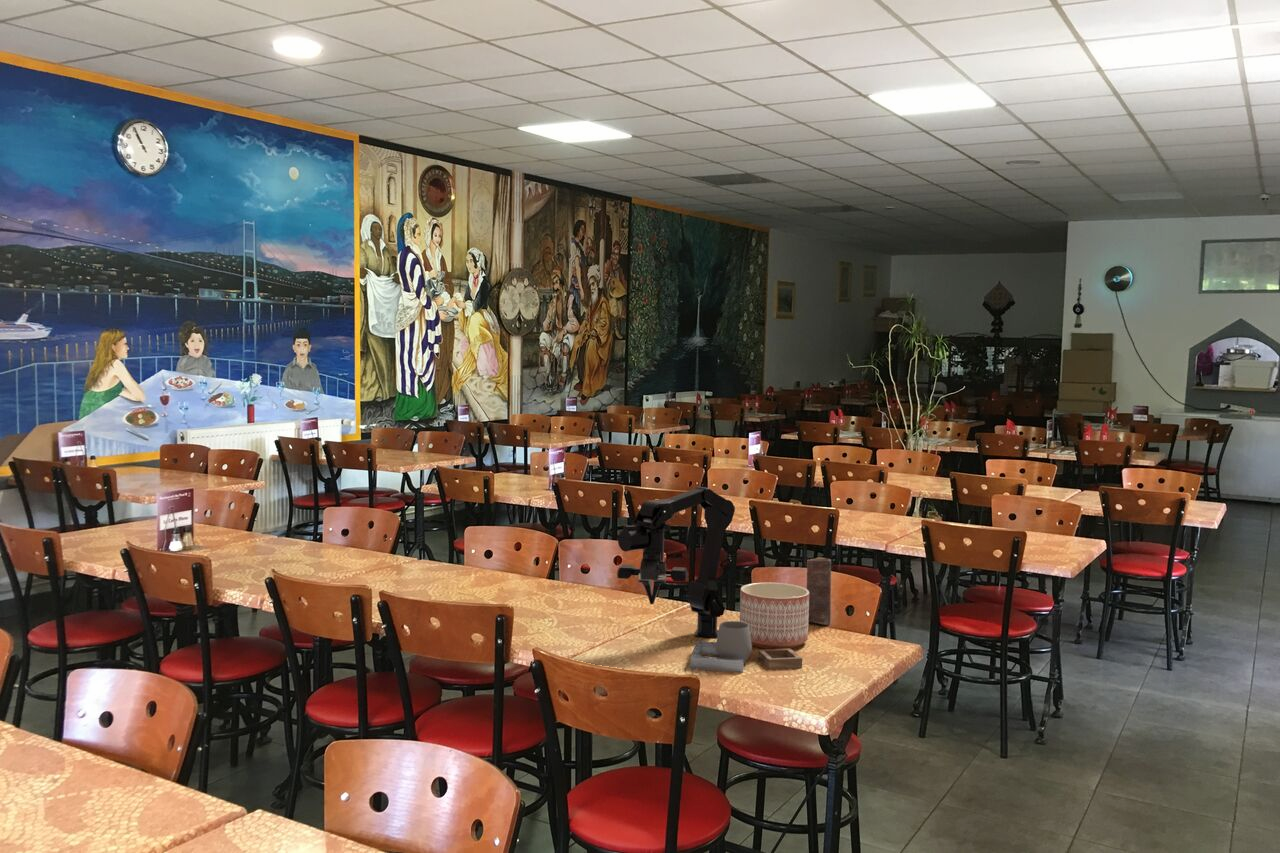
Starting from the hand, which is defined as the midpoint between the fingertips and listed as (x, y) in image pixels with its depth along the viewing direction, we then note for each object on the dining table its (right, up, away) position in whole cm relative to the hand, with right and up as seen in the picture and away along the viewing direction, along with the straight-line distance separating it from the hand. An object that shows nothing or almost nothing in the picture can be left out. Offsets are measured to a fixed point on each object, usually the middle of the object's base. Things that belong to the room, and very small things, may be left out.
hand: (652, 604), depth 272 cm
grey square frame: (+17, -13, -11) cm, 25 cm away
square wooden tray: (+33, -13, -11) cm, 38 cm away
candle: (+51, -11, +30) cm, 60 cm away
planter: (+34, -12, +9) cm, 38 cm away
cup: (+21, -13, -11) cm, 28 cm away
